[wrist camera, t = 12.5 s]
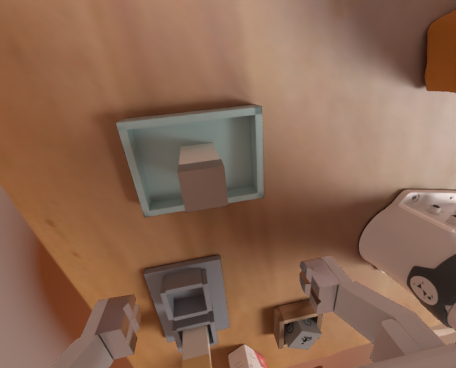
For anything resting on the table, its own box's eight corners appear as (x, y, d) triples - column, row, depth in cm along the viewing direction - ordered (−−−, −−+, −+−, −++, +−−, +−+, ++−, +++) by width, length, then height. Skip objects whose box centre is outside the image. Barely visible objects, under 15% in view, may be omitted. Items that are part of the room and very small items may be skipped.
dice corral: (315, 297, 45) (323, 311, 42) (311, 324, 49) (319, 338, 46) (273, 307, 44) (279, 321, 41) (273, 334, 48) (278, 348, 45)
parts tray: (254, 104, 27) (262, 106, 24) (257, 187, 32) (263, 197, 29) (123, 118, 25) (115, 123, 22) (148, 205, 30) (144, 217, 27)
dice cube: (308, 309, 46) (322, 333, 42) (296, 325, 48) (307, 349, 43) (290, 306, 45) (302, 330, 40) (278, 322, 46) (288, 347, 42)
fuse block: (219, 254, 36) (223, 273, 32) (228, 322, 43) (232, 344, 40) (144, 269, 34) (139, 290, 31) (168, 337, 42) (166, 360, 38)
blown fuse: (212, 142, 27) (224, 165, 19) (216, 172, 29) (228, 205, 21) (180, 146, 27) (177, 172, 19) (185, 176, 28) (185, 212, 20)
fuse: (205, 310, 39) (210, 369, 31) (208, 324, 41) (213, 383, 33) (182, 315, 39) (181, 376, 31) (186, 329, 40) (186, 390, 32)
